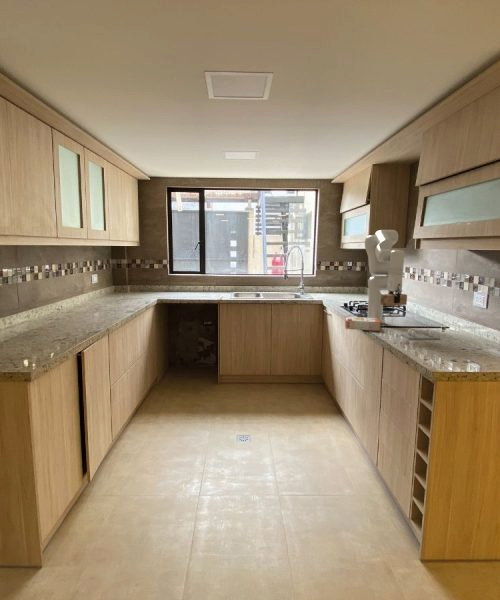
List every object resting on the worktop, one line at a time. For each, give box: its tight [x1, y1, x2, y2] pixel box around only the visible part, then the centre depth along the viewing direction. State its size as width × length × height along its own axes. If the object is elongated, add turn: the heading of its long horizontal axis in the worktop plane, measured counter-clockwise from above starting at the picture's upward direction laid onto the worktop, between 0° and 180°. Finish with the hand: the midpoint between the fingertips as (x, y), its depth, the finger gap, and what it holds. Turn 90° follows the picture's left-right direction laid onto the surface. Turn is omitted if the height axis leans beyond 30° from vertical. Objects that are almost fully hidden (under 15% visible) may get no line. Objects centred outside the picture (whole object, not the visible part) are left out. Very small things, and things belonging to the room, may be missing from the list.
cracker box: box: [344, 316, 382, 332], centre depth 236 cm, size 14×6×21 cm
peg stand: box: [400, 328, 441, 341], centre depth 213 cm, size 10×18×4 cm, turn 93°
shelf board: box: [380, 293, 408, 307], centre depth 218 cm, size 6×14×6 cm, turn 112°
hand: (393, 301), depth 218 cm, fingers closed on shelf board, 7 cm apart
